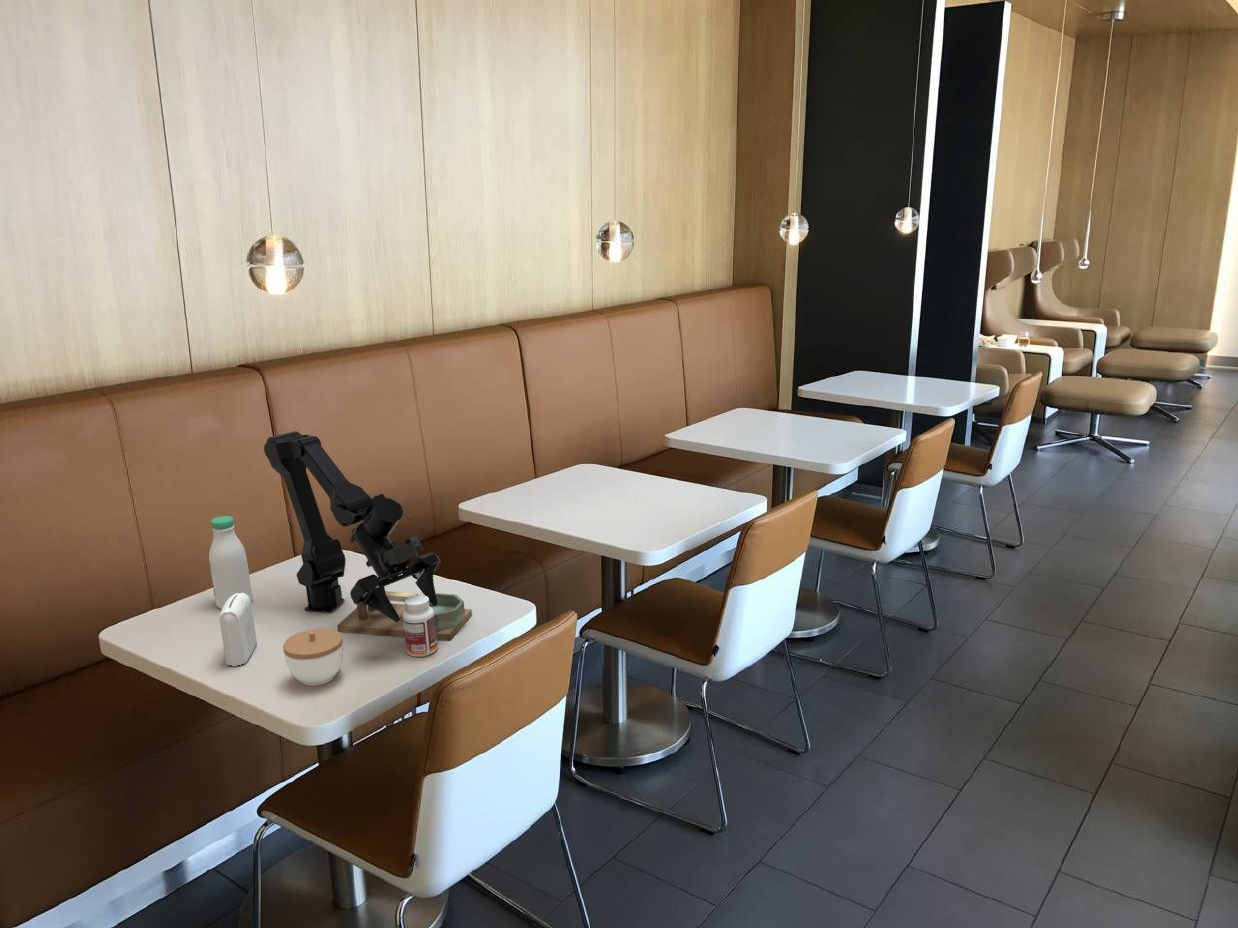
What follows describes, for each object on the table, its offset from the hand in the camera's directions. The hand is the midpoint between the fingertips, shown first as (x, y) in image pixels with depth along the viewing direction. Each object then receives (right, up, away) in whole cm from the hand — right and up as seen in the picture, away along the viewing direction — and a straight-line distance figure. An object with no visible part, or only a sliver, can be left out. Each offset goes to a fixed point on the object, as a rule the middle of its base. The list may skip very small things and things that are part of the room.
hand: (417, 612), depth 202 cm
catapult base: (-5, -4, +14) cm, 16 cm away
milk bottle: (-46, -2, +27) cm, 53 cm away
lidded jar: (-18, -11, -7) cm, 22 cm away
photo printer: (-35, -9, +3) cm, 37 cm away
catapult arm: (-5, -3, +14) cm, 15 cm away
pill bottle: (0, -8, +2) cm, 8 cm away
